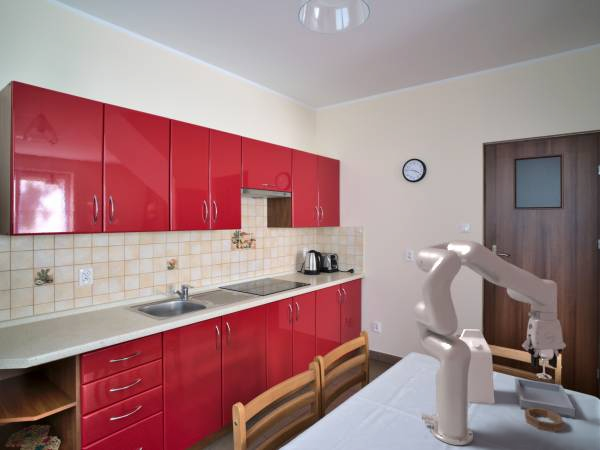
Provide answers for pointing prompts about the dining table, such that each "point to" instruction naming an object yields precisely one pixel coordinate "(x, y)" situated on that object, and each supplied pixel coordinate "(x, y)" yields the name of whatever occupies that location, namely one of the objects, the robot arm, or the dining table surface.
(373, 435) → the dining table surface
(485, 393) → the milk
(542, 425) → the collar
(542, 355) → the wineglass
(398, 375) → the dining table surface
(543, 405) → the tray
